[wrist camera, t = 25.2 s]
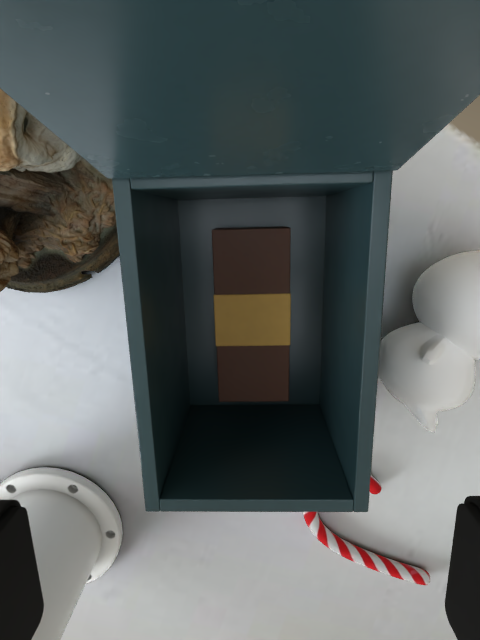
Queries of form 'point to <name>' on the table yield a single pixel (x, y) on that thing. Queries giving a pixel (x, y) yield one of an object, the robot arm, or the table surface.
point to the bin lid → (241, 81)
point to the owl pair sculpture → (49, 208)
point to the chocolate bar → (252, 312)
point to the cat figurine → (437, 341)
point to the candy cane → (361, 554)
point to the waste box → (305, 340)
